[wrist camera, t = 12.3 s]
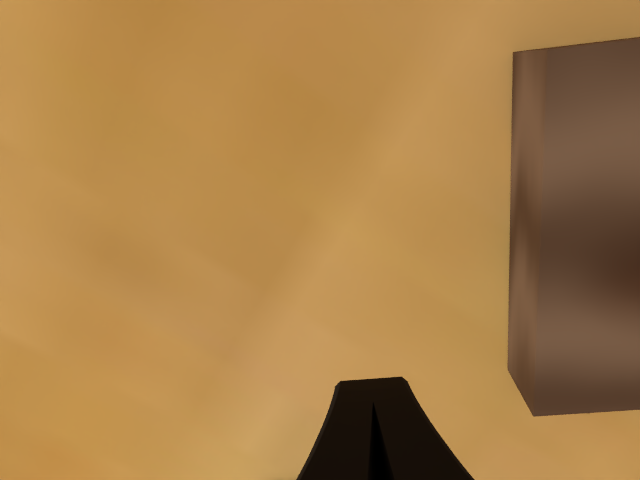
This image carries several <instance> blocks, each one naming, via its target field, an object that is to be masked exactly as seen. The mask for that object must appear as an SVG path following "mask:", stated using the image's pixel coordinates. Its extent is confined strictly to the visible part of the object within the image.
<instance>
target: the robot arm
mask: <svg viewBox="0 0 640 480" xmlns="http://www.w3.org/2000/svg"><path fill="white" fill-rule="evenodd" d="M296 480H474V479H473V478H472V476H471V475H470V474H469V473H468V472H467V470H466V469H465V468H464V467H463V465H462V464H461V463H460V461H459V460H458V459H457V458H456V456H455V455H454V454H453V452H452V451H451V450H450V448H449V447H448V446H447V444H446V443H445V442H444V440H443V439H442V437H441V436H440V435H439V433H438V432H437V431H436V429H435V428H434V426H433V425H432V423H431V422H430V420H429V419H428V417H427V416H426V414H425V412H424V411H423V409H422V408H421V406H420V404H419V403H418V401H417V399H416V398H415V396H414V394H413V392H412V390H411V388H410V386H409V384H408V381H406V380H405V379H404V378H403V377H391V378H377V379H363V380H349V381H340V382H339V383H338V384H337V385H336V386H335V390H334V395H333V398H332V401H331V404H330V407H329V410H328V413H327V415H326V418H325V421H324V423H323V426H322V428H321V430H320V433H319V435H318V437H317V439H316V441H315V444H314V446H313V448H312V450H311V452H310V454H309V457H308V459H307V461H306V463H305V465H304V467H303V468H302V470H301V472H300V474H299V476H298V478H297V479H296Z"/></svg>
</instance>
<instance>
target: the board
mask: <svg viewBox="0 0 640 480" xmlns="http://www.w3.org/2000/svg"><path fill="white" fill-rule="evenodd" d="M508 371H509V373H510V375H511V377H512V379H513V380H514V382H515V384H516V386H517V388H518V389H519V391H520V393H521V395H522V397H523V398H524V400H525V402H526V404H527V406H528V408H529V409H530V411H531V413H532V415H533V416H548V415H564V414H579V413H594V412H610V411H625V410H640V37H636V38H628V39H620V40H611V41H603V42H594V43H586V44H577V45H569V46H561V47H552V48H544V49H535V50H527V51H519V52H513V86H512V146H511V206H510V266H509V326H508Z"/></svg>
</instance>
